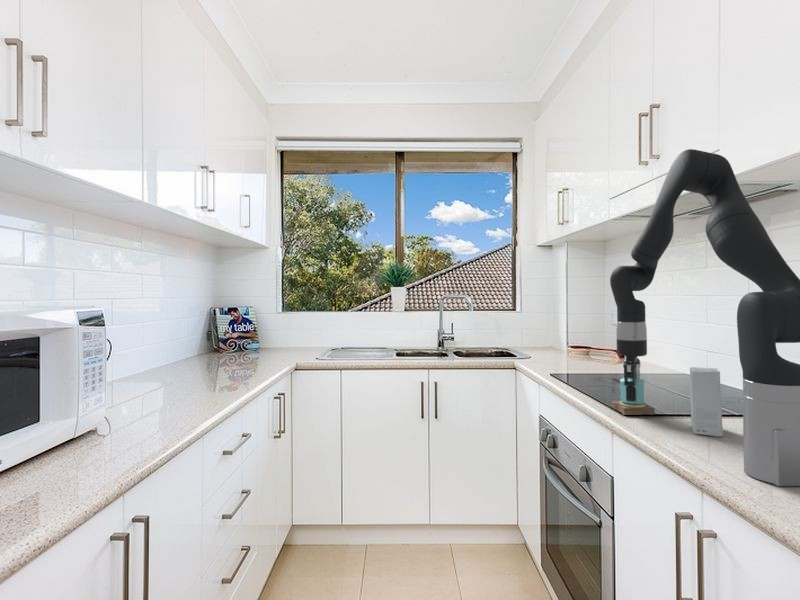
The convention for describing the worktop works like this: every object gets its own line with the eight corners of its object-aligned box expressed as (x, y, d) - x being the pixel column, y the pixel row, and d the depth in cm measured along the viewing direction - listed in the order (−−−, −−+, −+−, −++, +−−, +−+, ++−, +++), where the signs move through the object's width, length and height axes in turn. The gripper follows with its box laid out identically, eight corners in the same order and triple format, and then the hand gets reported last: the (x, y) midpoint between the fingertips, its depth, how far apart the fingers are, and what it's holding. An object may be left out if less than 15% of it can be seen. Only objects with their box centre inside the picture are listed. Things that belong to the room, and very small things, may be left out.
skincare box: (723, 437, 105) (722, 372, 105) (691, 434, 108) (691, 370, 108) (719, 428, 112) (718, 366, 112) (689, 425, 115) (689, 365, 115)
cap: (645, 400, 129) (645, 378, 129) (643, 404, 124) (643, 382, 124) (622, 398, 132) (621, 377, 132) (619, 402, 127) (618, 380, 127)
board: (654, 415, 124) (654, 393, 124) (624, 415, 124) (623, 393, 124) (640, 408, 132) (640, 387, 132) (611, 408, 132) (611, 387, 132)
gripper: (644, 341, 120) (645, 405, 120) (648, 335, 132) (649, 394, 132) (612, 339, 124) (613, 402, 124) (620, 335, 136) (620, 392, 136)
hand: (632, 398), depth 128 cm, fingers closed on cap, 6 cm apart
